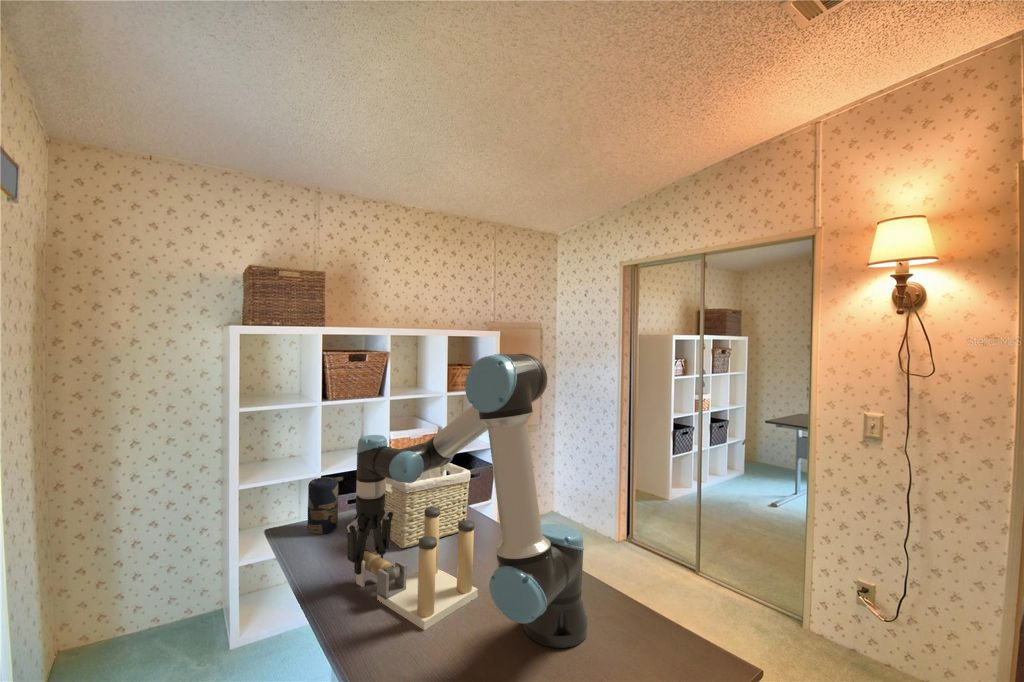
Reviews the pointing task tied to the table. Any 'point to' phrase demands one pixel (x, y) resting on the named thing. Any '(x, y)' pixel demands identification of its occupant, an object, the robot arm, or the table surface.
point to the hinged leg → (380, 565)
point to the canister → (322, 505)
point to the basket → (427, 503)
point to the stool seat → (431, 578)
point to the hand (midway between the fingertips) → (368, 580)
